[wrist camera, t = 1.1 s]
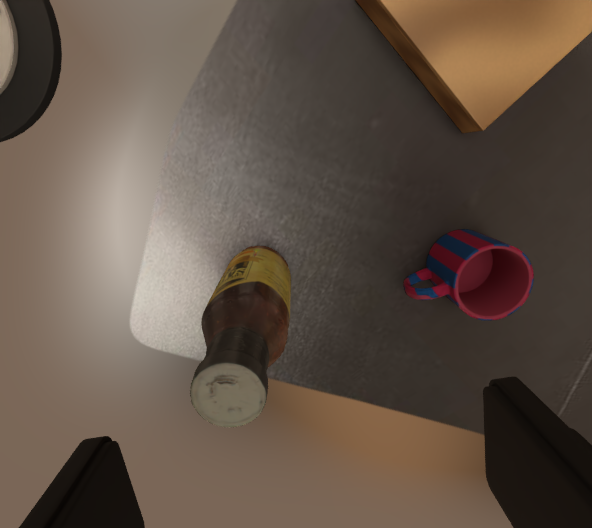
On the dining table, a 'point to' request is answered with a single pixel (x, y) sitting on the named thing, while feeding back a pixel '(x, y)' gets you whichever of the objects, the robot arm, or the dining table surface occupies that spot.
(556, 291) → the dining table surface
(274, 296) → the sauce bottle
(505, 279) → the mug
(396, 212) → the dining table surface
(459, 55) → the oak stand
